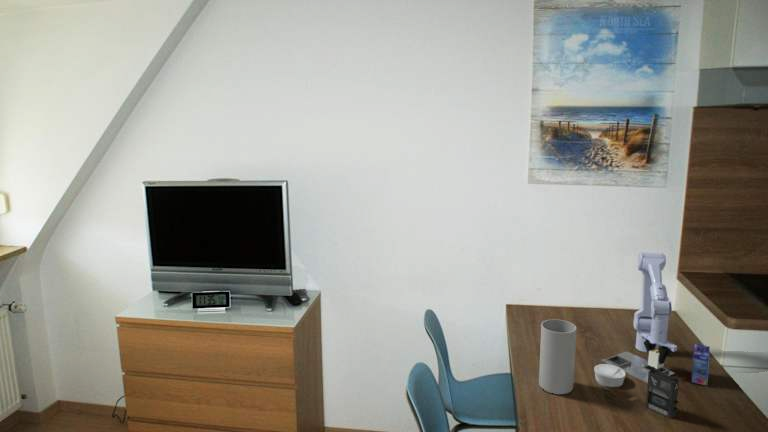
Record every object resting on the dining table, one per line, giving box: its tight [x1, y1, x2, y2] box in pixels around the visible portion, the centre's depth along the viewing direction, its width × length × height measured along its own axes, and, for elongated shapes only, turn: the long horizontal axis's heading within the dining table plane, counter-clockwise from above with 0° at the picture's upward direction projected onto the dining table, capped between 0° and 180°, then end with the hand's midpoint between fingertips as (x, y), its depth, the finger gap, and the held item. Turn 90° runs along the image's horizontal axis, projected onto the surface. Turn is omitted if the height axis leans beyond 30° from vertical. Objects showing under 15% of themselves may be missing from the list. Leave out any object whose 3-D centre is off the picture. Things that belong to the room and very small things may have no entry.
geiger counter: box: [645, 367, 680, 419], centre depth 179 cm, size 10×4×15 cm, turn 35°
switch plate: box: [601, 351, 676, 384], centre depth 210 cm, size 16×22×2 cm
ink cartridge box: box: [691, 341, 711, 386], centre depth 200 cm, size 10×6×14 cm, turn 148°
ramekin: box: [593, 363, 627, 389], centre depth 199 cm, size 11×11×5 cm
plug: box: [647, 349, 665, 369], centre depth 205 cm, size 4×4×7 cm
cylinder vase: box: [538, 318, 577, 395], centre depth 195 cm, size 12×12×25 cm
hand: (656, 361), depth 205 cm, fingers closed on plug, 4 cm apart
